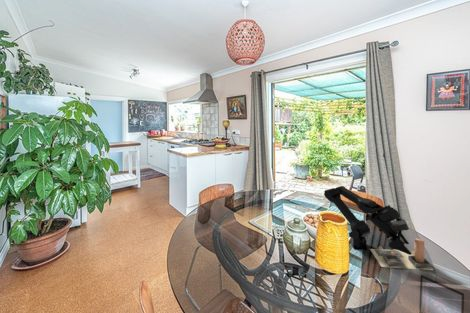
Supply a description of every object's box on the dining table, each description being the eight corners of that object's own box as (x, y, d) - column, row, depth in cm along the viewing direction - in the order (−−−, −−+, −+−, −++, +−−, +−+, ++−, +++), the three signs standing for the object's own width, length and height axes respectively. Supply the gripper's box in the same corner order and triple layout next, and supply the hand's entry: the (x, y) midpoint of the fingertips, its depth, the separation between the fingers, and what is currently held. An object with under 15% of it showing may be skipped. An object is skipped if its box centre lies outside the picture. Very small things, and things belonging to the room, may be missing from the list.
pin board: (381, 268, 100) (381, 262, 99) (369, 250, 114) (369, 245, 113) (433, 272, 94) (434, 266, 94) (415, 253, 108) (415, 247, 108)
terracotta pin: (417, 265, 98) (417, 242, 96) (412, 261, 101) (412, 238, 99) (426, 266, 97) (426, 242, 95) (421, 261, 100) (421, 238, 99)
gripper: (398, 223, 93) (430, 252, 89) (394, 207, 108) (421, 231, 104) (376, 235, 99) (405, 263, 94) (376, 219, 114) (401, 242, 110)
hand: (409, 248), depth 100 cm, fingers open, 9 cm apart
